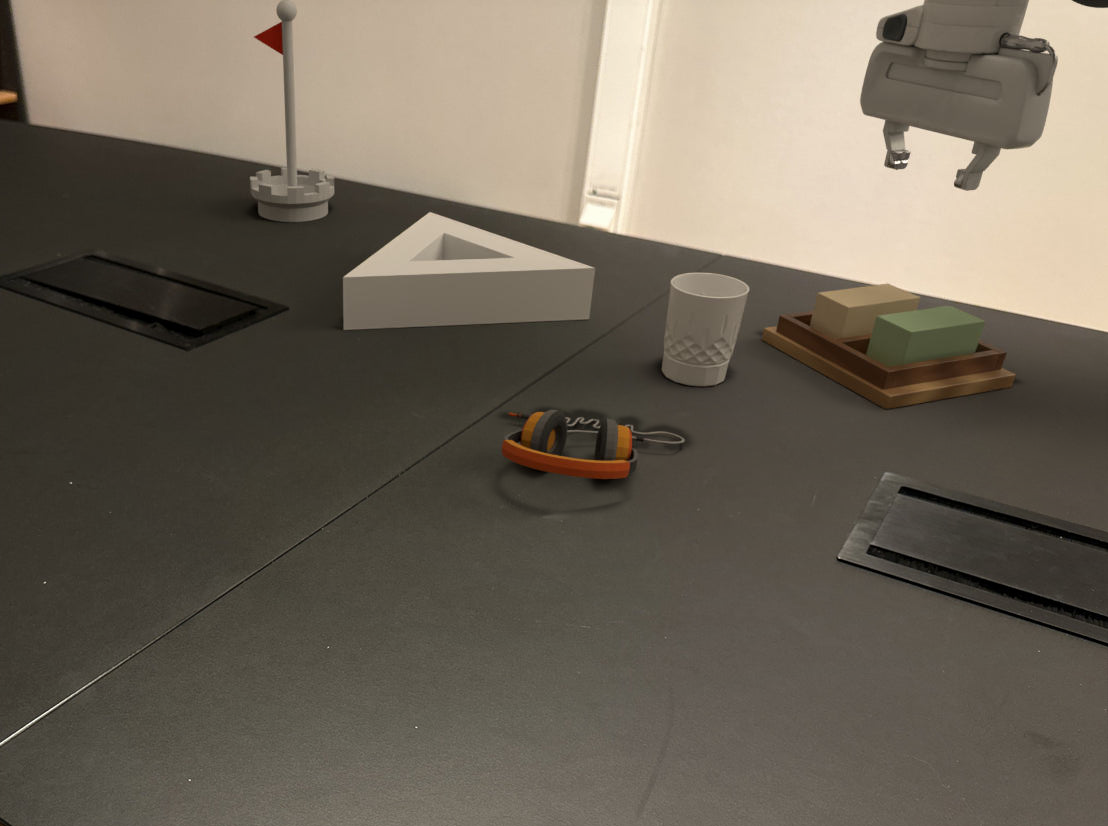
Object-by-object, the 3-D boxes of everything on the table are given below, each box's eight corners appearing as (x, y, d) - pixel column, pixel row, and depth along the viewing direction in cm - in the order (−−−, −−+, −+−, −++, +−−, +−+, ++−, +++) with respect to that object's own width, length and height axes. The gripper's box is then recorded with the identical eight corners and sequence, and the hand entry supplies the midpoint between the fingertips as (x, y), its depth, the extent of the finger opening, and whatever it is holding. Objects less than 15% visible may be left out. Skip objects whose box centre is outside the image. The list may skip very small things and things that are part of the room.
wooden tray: (876, 323, 128) (884, 295, 126) (1011, 387, 112) (1022, 356, 110) (761, 339, 122) (767, 311, 121) (885, 409, 107) (895, 377, 105)
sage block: (935, 348, 117) (949, 305, 114) (971, 365, 113) (986, 320, 110) (864, 359, 114) (876, 315, 111) (898, 377, 110) (911, 332, 107)
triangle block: (428, 257, 147) (429, 212, 143) (613, 282, 139) (619, 234, 136) (343, 330, 123) (342, 277, 120) (560, 364, 115) (566, 308, 112)
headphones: (692, 408, 100) (668, 453, 82) (682, 461, 102) (656, 517, 84) (522, 380, 105) (464, 417, 87) (515, 432, 107) (457, 478, 89)
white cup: (644, 377, 113) (658, 287, 107) (672, 354, 118) (687, 267, 113) (715, 395, 109) (734, 303, 104) (741, 371, 114) (759, 282, 109)
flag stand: (344, 204, 170) (342, -4, 154) (321, 226, 159) (317, 5, 143) (267, 198, 172) (258, -7, 156) (239, 220, 161) (226, 1, 145)
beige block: (837, 350, 116) (848, 307, 113) (807, 334, 120) (817, 292, 117) (908, 339, 119) (920, 297, 116) (876, 324, 123) (888, 283, 120)
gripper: (1089, 39, 92) (1037, 199, 100) (914, 16, 109) (881, 155, 116) (1035, 43, 91) (987, 205, 98) (866, 18, 107) (835, 160, 114)
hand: (928, 178), depth 107 cm, fingers open, 8 cm apart
